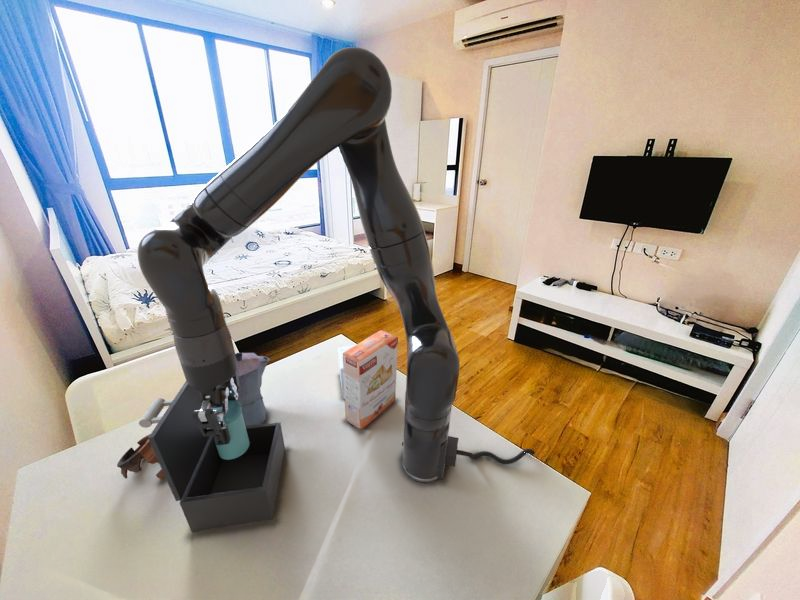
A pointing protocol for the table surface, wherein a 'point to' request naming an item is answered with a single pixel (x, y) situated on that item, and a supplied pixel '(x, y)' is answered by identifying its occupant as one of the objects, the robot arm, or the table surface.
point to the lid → (176, 437)
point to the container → (234, 432)
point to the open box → (236, 482)
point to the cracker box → (370, 378)
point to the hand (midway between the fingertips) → (229, 429)
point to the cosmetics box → (340, 359)
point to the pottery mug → (138, 458)
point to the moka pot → (251, 387)
